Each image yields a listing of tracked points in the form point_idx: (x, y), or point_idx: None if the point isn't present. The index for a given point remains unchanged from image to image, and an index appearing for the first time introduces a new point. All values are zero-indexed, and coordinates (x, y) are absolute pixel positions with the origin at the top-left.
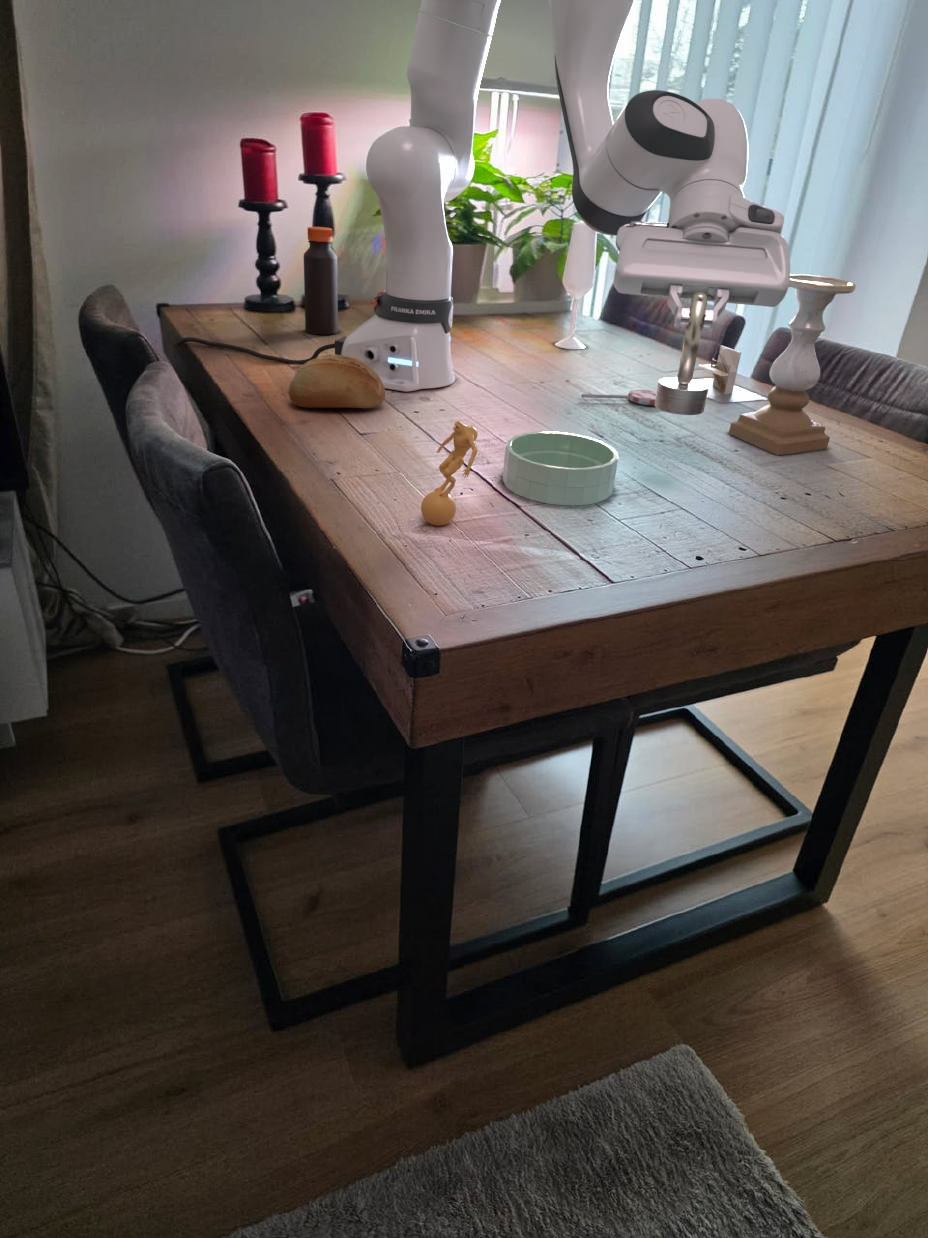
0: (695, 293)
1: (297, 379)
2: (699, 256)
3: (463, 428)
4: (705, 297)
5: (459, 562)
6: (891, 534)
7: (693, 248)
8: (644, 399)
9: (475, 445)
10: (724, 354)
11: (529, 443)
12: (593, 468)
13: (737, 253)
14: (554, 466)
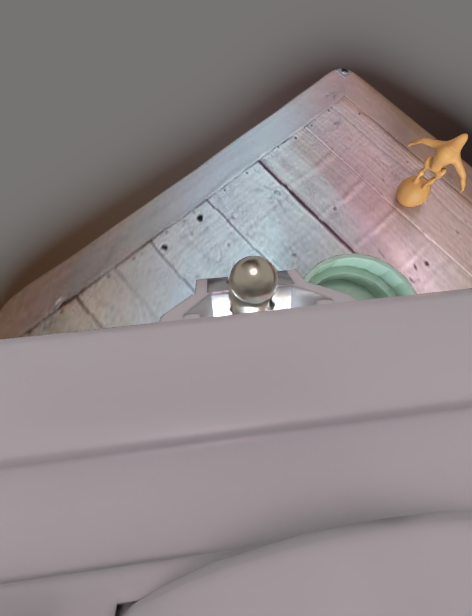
0: (271, 272)
1: None
2: (326, 394)
3: (454, 138)
4: (237, 263)
5: (363, 153)
6: (13, 335)
7: (404, 469)
8: None
9: (426, 139)
10: None
11: None
12: (313, 268)
13: (64, 499)
14: (351, 256)
